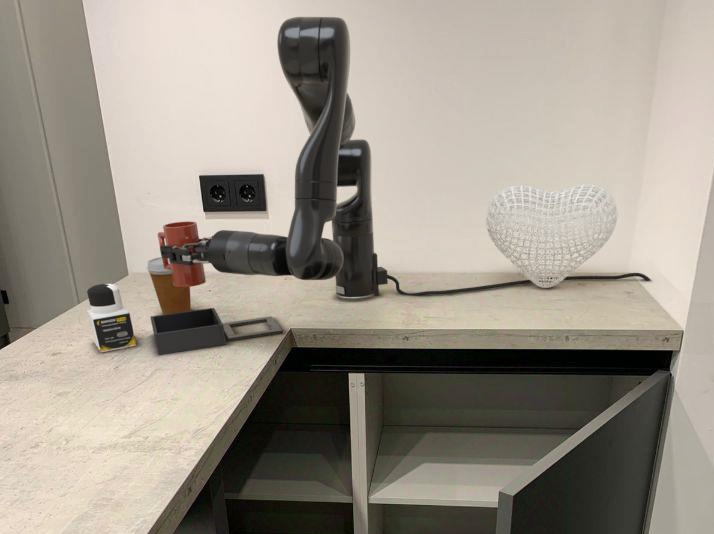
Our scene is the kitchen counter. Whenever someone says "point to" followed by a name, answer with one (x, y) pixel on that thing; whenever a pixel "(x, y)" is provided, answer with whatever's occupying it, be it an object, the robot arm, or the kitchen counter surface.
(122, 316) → the medicine bottle
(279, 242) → the robot arm
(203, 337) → the grey square storage bin
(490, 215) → the heart
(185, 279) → the red mug
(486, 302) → the kitchen counter surface
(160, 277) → the disposable coffee cup
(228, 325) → the hollow square frame
